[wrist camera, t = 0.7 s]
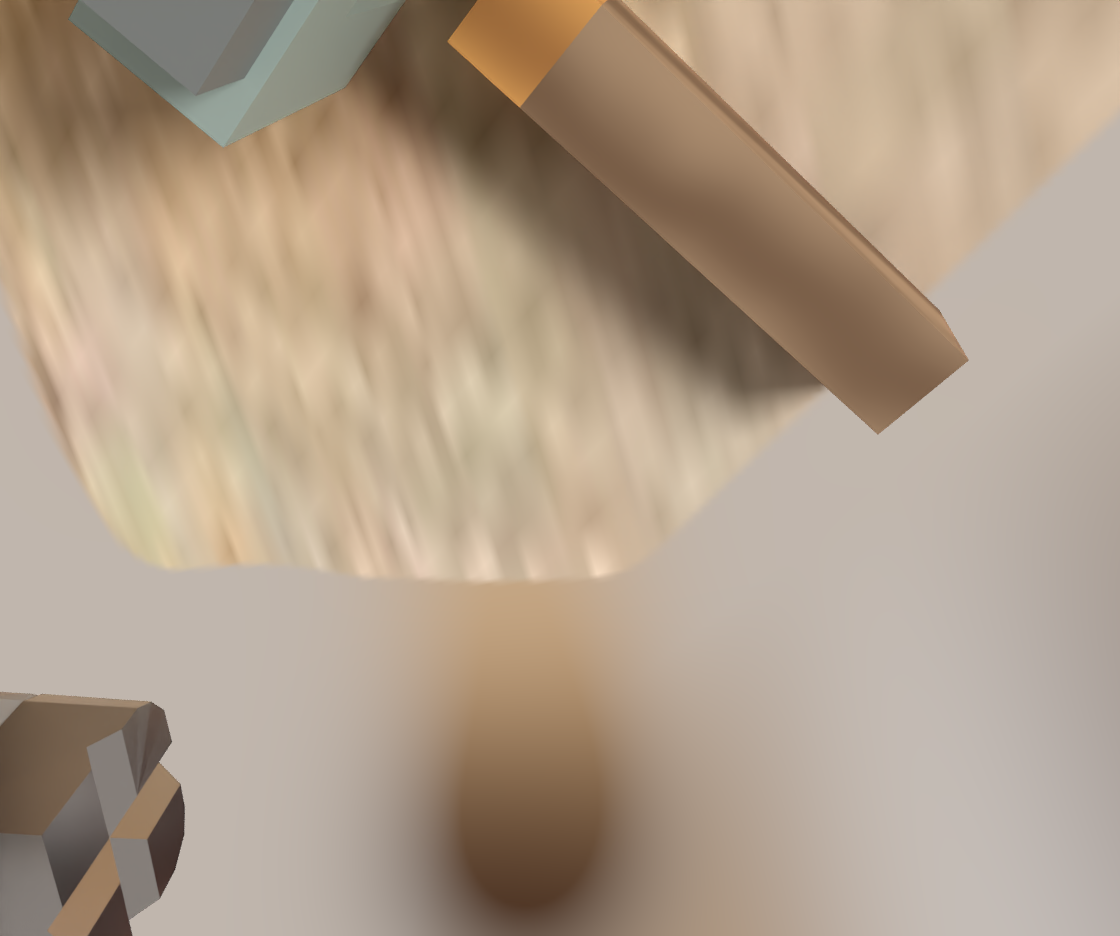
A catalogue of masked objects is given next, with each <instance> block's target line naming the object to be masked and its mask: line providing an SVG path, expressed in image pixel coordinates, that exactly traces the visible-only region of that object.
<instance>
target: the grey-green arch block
mask: <svg viewBox="0 0 1120 936" xmlns="http://www.w3.org/2000/svg"><path fill="white" fill-rule="evenodd" d="M405 1H406V0H78V2H77V4H76V6H75V8H74V10H73V12H72V14H71V16H70V17H69V19H68V20H69V21H71V22H72V23H73V24H74V25H75V26H77V27H78V28H79V29H80V30H81V31H83V32H84V33H85V34H86V35H88V36H89V37H90V38H91V39H92V40H94V41H95V42H96V43H97V44H98V45H100V46H101V47H102V48H103V49H104V50H106V51H107V52H108V53H109V54H111V55H112V56H113V57H114V58H115V59H117V60H118V61H119V62H120V63H121V64H123V65H124V66H125V67H126V68H127V69H129V70H130V71H131V72H132V73H133V74H135V75H136V76H137V77H138V78H140V79H141V80H142V81H143V82H144V83H146V84H147V85H148V86H149V87H150V88H152V89H153V90H154V91H155V92H156V93H158V94H159V95H160V96H161V97H163V98H164V99H165V100H166V101H167V102H169V103H170V104H171V105H172V106H173V107H175V108H176V109H177V110H178V111H179V112H181V113H182V114H183V115H184V116H186V117H187V118H188V119H189V120H190V121H192V122H193V123H194V124H195V125H196V126H198V127H199V128H200V129H201V130H202V131H204V132H205V133H206V134H207V135H209V136H210V137H211V138H212V139H213V140H215V141H216V142H217V143H218V144H219V145H221V146H222V147H225V146H227V145H229V144H231V143H234V142H236V141H238V140H240V139H242V138H244V137H246V136H248V135H250V134H252V133H254V132H256V131H258V130H260V129H262V128H264V127H266V126H268V125H270V124H272V123H274V122H276V121H278V120H280V119H282V118H284V117H286V116H288V115H290V114H292V113H294V112H296V111H299V110H301V109H303V108H305V107H307V106H309V105H311V104H313V103H315V102H317V101H319V100H321V99H323V98H325V97H327V96H329V95H331V94H333V93H335V92H337V91H339V90H341V89H343V88H345V87H346V86H347V84H348V83H349V81H350V80H351V78H352V77H353V76H354V74H355V73H356V71H357V70H358V68H359V67H360V66H361V64H362V63H363V61H364V60H365V58H366V57H367V55H368V54H369V53H370V51H371V50H372V48H373V47H374V45H375V44H376V42H377V41H378V40H379V38H380V37H381V35H382V34H383V32H384V31H385V29H386V28H387V27H388V25H389V24H390V22H391V21H392V19H393V18H394V17H395V15H396V14H397V12H398V11H399V9H400V8H401V6H402V5H403V4H404V2H405Z"/></svg>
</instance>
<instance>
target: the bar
mask: <svg viewBox="0 0 1120 936" xmlns="http://www.w3.org/2000/svg"><path fill="white" fill-rule="evenodd" d="M447 42H448V43H449V44H450V45H451V46H452V47H454V48H455V49H456V50H457V51H458V52H459V53H460V54H461V55H462V56H463V57H464V58H466V59H467V60H468V61H469V62H470V63H471V64H472V65H473V66H474V67H475V68H477V69H478V70H479V71H480V72H481V73H482V74H483V75H484V76H485V77H486V78H488V79H489V80H490V81H491V82H492V83H493V84H494V85H495V86H496V87H497V88H498V89H500V90H501V91H502V92H503V93H504V94H505V95H506V96H507V97H508V98H509V99H511V100H512V101H513V102H514V103H515V104H516V105H517V106H518V107H519V108H520V109H521V110H523V111H524V112H525V113H526V114H527V115H528V116H529V117H530V118H531V119H532V120H534V121H535V122H536V123H537V124H538V125H539V126H540V127H541V128H542V129H543V130H545V131H546V132H547V133H548V134H549V135H550V136H551V137H552V138H553V139H554V140H555V141H557V142H558V143H559V144H560V145H561V146H562V147H563V148H564V149H565V150H566V151H568V152H569V153H570V154H571V155H572V156H573V157H574V158H575V159H576V160H577V161H579V162H580V163H581V164H582V165H583V166H584V167H585V168H586V169H587V170H588V171H589V172H591V173H592V174H593V175H594V176H595V177H596V178H597V179H598V180H599V181H600V182H602V183H603V184H604V185H605V186H606V187H607V188H608V189H609V190H610V191H611V192H612V193H614V194H615V195H616V196H617V197H618V198H619V199H620V200H621V201H622V202H623V203H625V204H626V205H627V206H628V207H629V208H630V209H631V210H632V211H633V212H634V213H636V214H637V215H638V216H639V217H640V218H641V219H642V220H643V221H644V222H645V223H646V224H648V225H649V226H650V227H651V228H652V229H653V230H654V231H655V232H656V233H657V234H659V235H660V236H661V237H662V238H663V239H664V240H665V241H666V242H667V243H668V244H670V245H671V246H672V247H673V248H674V249H675V250H676V251H677V252H678V253H679V254H680V255H682V256H683V257H684V258H685V259H686V260H687V261H688V262H689V263H690V264H691V265H693V266H694V267H695V268H696V269H697V270H698V271H699V272H700V273H701V274H702V275H704V276H705V277H706V278H707V279H708V280H709V281H710V282H711V283H712V284H713V285H714V286H716V287H717V288H718V289H719V290H720V291H721V292H722V293H723V294H724V295H725V296H727V297H728V298H729V299H730V300H731V301H732V302H733V303H734V304H735V305H736V306H737V307H739V308H740V309H741V310H742V311H743V312H744V313H745V314H746V315H747V316H748V317H750V318H751V319H752V320H753V321H754V322H755V323H756V324H757V325H758V326H759V327H761V328H762V329H763V330H764V331H765V332H766V333H767V334H768V335H769V336H770V337H771V338H773V339H774V340H775V341H776V342H777V343H778V344H779V345H780V346H781V347H782V348H784V349H785V350H786V351H787V352H788V353H789V354H790V355H791V356H792V357H793V358H795V359H796V360H797V361H798V362H799V363H800V364H801V365H802V366H803V367H804V368H805V369H807V370H808V371H809V372H810V373H811V374H812V375H813V376H814V377H815V378H816V379H818V380H819V381H820V382H821V383H822V384H823V385H824V386H825V387H826V388H827V389H829V390H830V391H831V392H832V393H833V394H834V395H835V396H836V397H837V398H838V399H839V400H841V401H842V402H843V403H844V404H845V405H846V406H847V407H848V408H849V409H850V410H852V411H853V412H854V413H855V414H856V415H857V416H858V417H859V418H861V420H863V421H864V422H865V423H866V424H867V425H868V426H869V427H870V428H871V429H872V430H873V431H875V432H876V433H877V434H879V433H880V432H881V431H883V430H884V429H885V428H887V427H888V426H889V425H890V424H891V423H893V422H894V421H895V420H896V419H898V418H899V417H900V416H901V415H902V414H904V413H905V412H906V411H907V410H909V409H910V408H911V407H912V406H913V405H915V404H916V403H917V402H918V401H919V400H921V399H922V398H923V397H924V396H926V395H927V394H928V393H929V392H931V391H932V390H933V389H934V388H935V387H937V386H938V385H939V384H940V383H942V382H943V381H944V380H945V379H946V378H948V377H949V376H950V375H951V374H952V373H954V372H955V371H956V370H957V369H959V368H960V367H961V366H962V365H964V364H965V363H966V362H967V361H968V358H967V356H966V355H965V353H964V351H963V350H962V348H961V347H960V345H959V343H958V341H957V339H956V338H955V336H954V334H953V333H952V331H951V329H950V328H949V326H948V324H947V322H946V321H945V319H944V317H943V316H942V314H941V312H940V311H939V309H938V308H936V307H935V306H934V305H933V304H932V303H931V302H930V301H929V300H928V299H927V298H926V297H925V296H924V295H923V294H922V293H921V292H920V291H919V290H918V289H917V288H916V287H915V286H914V285H913V284H912V283H911V282H910V281H909V280H908V279H907V278H906V277H905V276H904V275H903V274H902V273H901V272H900V271H898V270H897V269H896V268H895V267H894V266H893V265H892V264H891V263H890V262H889V261H888V260H887V259H886V258H885V257H884V256H883V255H882V254H881V253H880V252H879V251H878V250H877V249H876V248H875V247H874V246H873V245H872V244H871V243H870V242H869V241H868V240H867V239H866V238H865V237H864V236H863V235H862V234H861V233H859V232H858V231H857V230H856V229H855V228H854V227H853V226H852V225H851V224H850V223H849V222H848V221H847V220H846V219H845V218H844V217H843V216H842V215H841V214H840V213H839V212H838V211H837V210H836V209H835V208H834V207H833V206H832V205H831V204H830V203H829V202H828V201H827V200H826V199H825V198H824V197H823V196H822V195H820V194H819V193H818V192H817V191H816V190H815V189H814V188H813V187H812V186H811V185H810V184H809V183H808V182H807V181H806V180H805V179H804V178H803V177H802V176H801V175H800V174H799V173H798V172H797V171H796V170H795V169H794V168H793V167H792V166H791V165H790V164H789V163H788V162H787V161H786V160H785V159H784V158H783V157H781V156H780V155H779V154H778V153H777V152H776V151H775V150H774V149H773V148H772V147H771V146H770V145H769V144H768V143H767V142H766V141H765V140H764V139H763V138H762V137H761V136H760V135H759V134H758V133H757V132H756V131H755V130H754V129H753V128H752V127H751V126H750V125H749V124H748V123H747V122H746V121H745V120H744V119H742V118H741V117H740V116H739V115H738V114H737V113H736V112H735V111H734V110H733V109H732V108H731V107H730V106H729V105H728V104H727V103H726V102H725V101H724V100H723V99H722V98H721V97H720V96H719V95H718V94H717V93H716V92H715V91H714V90H713V89H712V88H711V87H710V86H709V85H708V84H707V83H706V82H705V81H703V80H702V79H701V78H700V77H699V76H698V75H697V74H696V73H695V72H694V71H693V70H692V69H691V68H690V67H689V66H688V65H687V64H686V63H685V62H684V61H683V60H682V59H681V58H680V57H679V56H678V55H677V54H676V53H675V52H674V51H673V50H672V49H671V48H670V47H669V46H668V45H667V44H666V43H664V42H663V41H662V40H661V39H660V38H659V37H658V36H657V35H656V34H655V33H654V32H653V31H652V30H651V29H650V28H649V27H648V26H647V25H646V24H645V23H644V22H643V21H642V20H641V19H640V18H639V17H638V16H637V15H636V14H635V13H634V12H633V11H632V10H631V9H630V8H629V7H628V6H627V5H625V4H624V3H623V2H622V1H621V0H477V2H476V3H475V4H474V6H473V7H472V8H471V10H470V11H469V12H468V14H467V15H466V17H465V18H464V19H463V21H462V22H461V23H460V25H459V26H458V28H457V29H456V30H455V32H454V33H453V34H452V36H451V37H450V38H449V40H448V41H447Z"/></svg>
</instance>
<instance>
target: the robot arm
mask: <svg viewBox="0 0 1120 936" xmlns="http://www.w3.org/2000/svg"><path fill="white" fill-rule="evenodd" d="M171 743H172V740H171V736H170V732H169V728H168V724H167V720H166V716H165V712H164V710H163V709H162V708H160V707H158V706H157V705H155V704H154V703H152V702H148V701H134V700H119V699H105V698H92V697H77V696H63V695H49V694H40V695H34V694H25V693H8V692H0V936H132V932H131V927H130V923H129V920H130V919H131V918H132V917H134V916H135V915H137V914H138V913H140V912H141V911H143V910H144V909H146V908H147V907H148V906H150V905H151V904H153V903H154V902H155V901H157V900H159V899H160V897H161V896H162V893H163V891H164V890H165V888H166V886H167V884H168V882H169V880H170V878H171V877H172V875H173V873H174V871H175V868H176V864H177V860H178V857H179V853H180V849H181V845H182V841H183V837H184V822H185V821H184V820H185V806H184V801H183V795H182V790H181V784H180V783H179V782H178V781H177V780H176V779H175V778H174V777H173V776H172V775H171V774H170V773H169V772H168V771H167V770H166V769H165V768H164V767H163V766H162V765H161V764H160V763H159V761H160V760H161V758H162V757H163V755H164V753H165V752H166V750H167V749H168V747H169V746H170V744H171Z"/></svg>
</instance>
